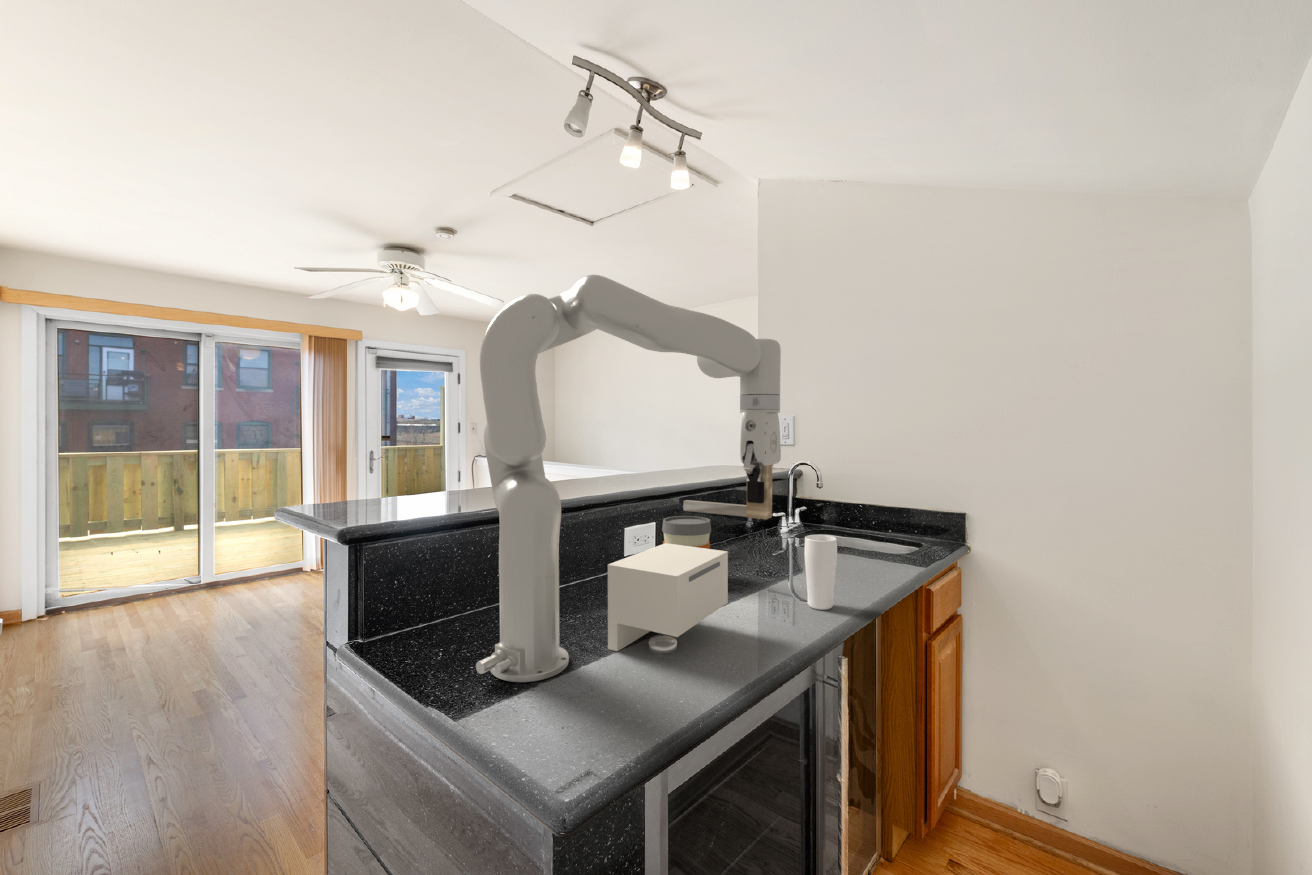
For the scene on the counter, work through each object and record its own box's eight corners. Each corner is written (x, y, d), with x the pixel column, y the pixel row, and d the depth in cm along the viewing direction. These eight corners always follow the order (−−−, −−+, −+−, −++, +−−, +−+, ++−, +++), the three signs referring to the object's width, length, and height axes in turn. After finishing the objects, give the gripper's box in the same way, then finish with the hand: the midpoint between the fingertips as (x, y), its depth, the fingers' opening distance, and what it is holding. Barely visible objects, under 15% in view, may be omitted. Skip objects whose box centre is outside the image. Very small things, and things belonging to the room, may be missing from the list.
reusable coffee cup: (697, 588, 132) (697, 526, 132) (652, 580, 139) (652, 521, 139) (719, 575, 143) (719, 518, 143) (677, 569, 150) (677, 514, 149)
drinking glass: (808, 599, 124) (809, 533, 124) (839, 604, 121) (840, 536, 120) (800, 608, 118) (800, 538, 118) (832, 614, 115) (833, 542, 114)
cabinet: (678, 667, 90) (678, 576, 89) (607, 648, 97) (607, 564, 97) (728, 628, 107) (728, 551, 106) (665, 614, 114) (665, 543, 114)
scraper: (766, 519, 103) (767, 460, 103) (681, 511, 112) (682, 457, 112) (771, 517, 106) (772, 459, 105) (688, 509, 115) (688, 456, 115)
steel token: (668, 657, 94) (668, 649, 94) (643, 651, 97) (643, 642, 97) (681, 647, 99) (681, 639, 98) (657, 641, 101) (657, 633, 101)
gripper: (763, 403, 96) (762, 508, 96) (792, 406, 110) (791, 498, 110) (724, 404, 100) (723, 505, 100) (756, 406, 114) (755, 495, 114)
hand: (759, 500), depth 105 cm, fingers closed on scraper, 3 cm apart
